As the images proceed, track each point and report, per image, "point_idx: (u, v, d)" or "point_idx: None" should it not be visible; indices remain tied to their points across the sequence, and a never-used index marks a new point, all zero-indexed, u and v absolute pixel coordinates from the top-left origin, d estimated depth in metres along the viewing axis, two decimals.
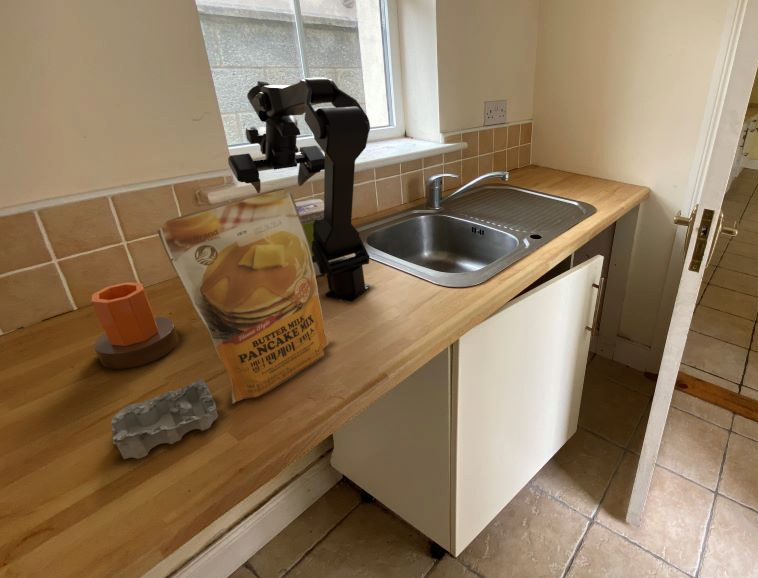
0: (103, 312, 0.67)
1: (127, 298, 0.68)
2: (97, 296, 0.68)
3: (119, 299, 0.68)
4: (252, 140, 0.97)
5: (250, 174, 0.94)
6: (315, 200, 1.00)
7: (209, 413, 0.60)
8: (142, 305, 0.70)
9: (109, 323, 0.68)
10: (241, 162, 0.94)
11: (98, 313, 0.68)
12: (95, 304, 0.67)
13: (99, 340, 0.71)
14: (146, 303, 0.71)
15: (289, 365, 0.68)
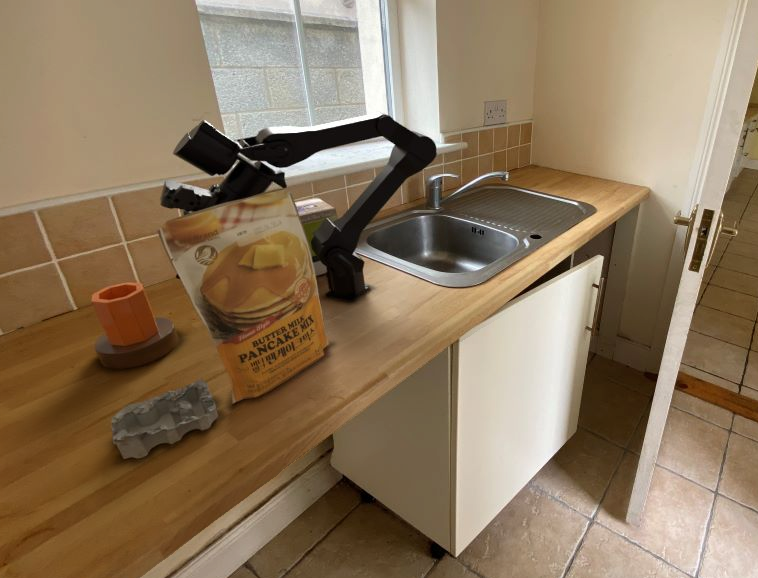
0: (103, 312, 0.67)
1: (127, 298, 0.68)
2: (97, 296, 0.68)
3: (119, 299, 0.68)
4: None
5: None
6: (315, 200, 1.00)
7: (209, 413, 0.60)
8: (142, 305, 0.70)
9: (109, 323, 0.68)
10: None
11: (98, 313, 0.68)
12: (95, 304, 0.67)
13: (99, 340, 0.71)
14: (146, 303, 0.71)
15: (289, 365, 0.68)
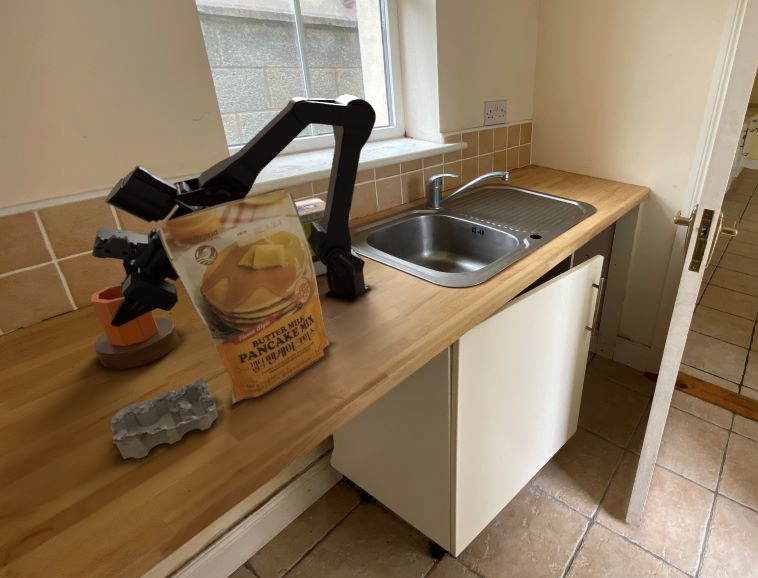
0: (103, 312, 0.67)
1: None
2: (97, 296, 0.68)
3: (119, 299, 0.68)
4: (129, 253, 0.65)
5: (176, 295, 0.68)
6: (315, 200, 1.00)
7: (209, 413, 0.60)
8: None
9: (109, 323, 0.68)
10: (160, 284, 0.66)
11: (98, 313, 0.68)
12: (95, 304, 0.67)
13: (99, 340, 0.71)
14: None
15: (289, 365, 0.68)
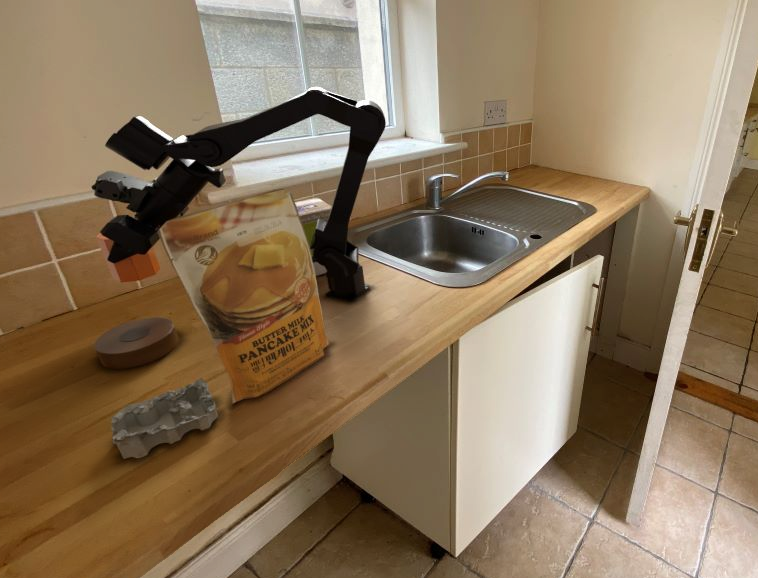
0: (103, 248, 0.74)
1: None
2: None
3: None
4: (120, 196, 0.70)
5: (155, 241, 0.71)
6: (315, 200, 1.00)
7: (209, 413, 0.60)
8: None
9: None
10: (137, 228, 0.69)
11: (101, 248, 0.74)
12: (98, 240, 0.73)
13: (99, 340, 0.71)
14: None
15: (289, 365, 0.68)
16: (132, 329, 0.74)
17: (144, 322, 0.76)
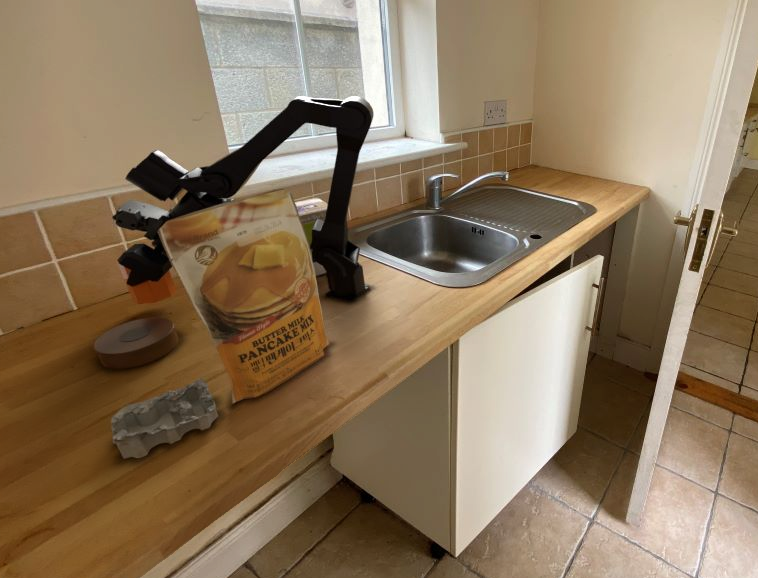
0: (123, 272, 0.78)
1: None
2: None
3: None
4: (138, 226, 0.74)
5: (168, 269, 0.75)
6: (315, 200, 1.00)
7: (209, 413, 0.60)
8: None
9: None
10: (151, 257, 0.73)
11: (121, 272, 0.79)
12: (118, 264, 0.78)
13: (99, 340, 0.71)
14: None
15: (289, 365, 0.68)
16: (132, 329, 0.74)
17: (144, 322, 0.76)
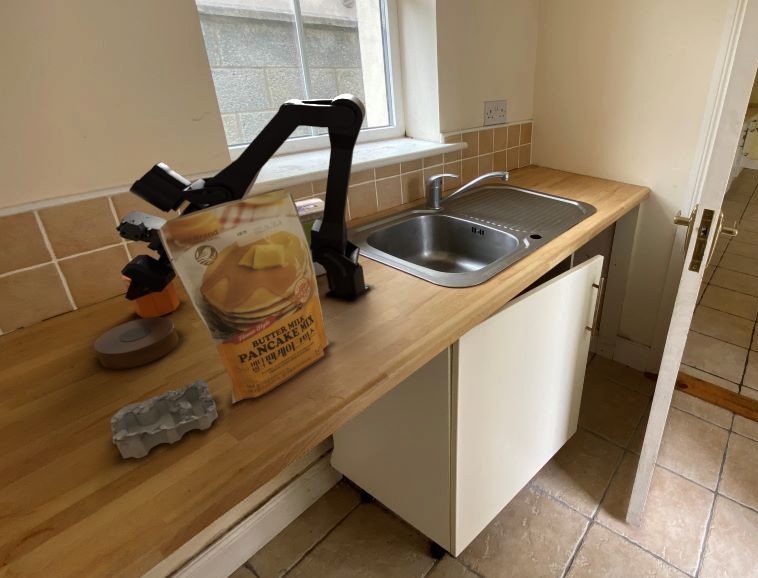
0: (128, 287, 0.80)
1: None
2: None
3: None
4: (141, 237, 0.75)
5: (171, 279, 0.76)
6: (315, 200, 1.00)
7: (209, 413, 0.60)
8: None
9: None
10: (155, 268, 0.74)
11: (126, 287, 0.80)
12: (123, 279, 0.79)
13: (99, 340, 0.71)
14: None
15: (289, 365, 0.68)
16: (132, 329, 0.74)
17: (144, 322, 0.76)
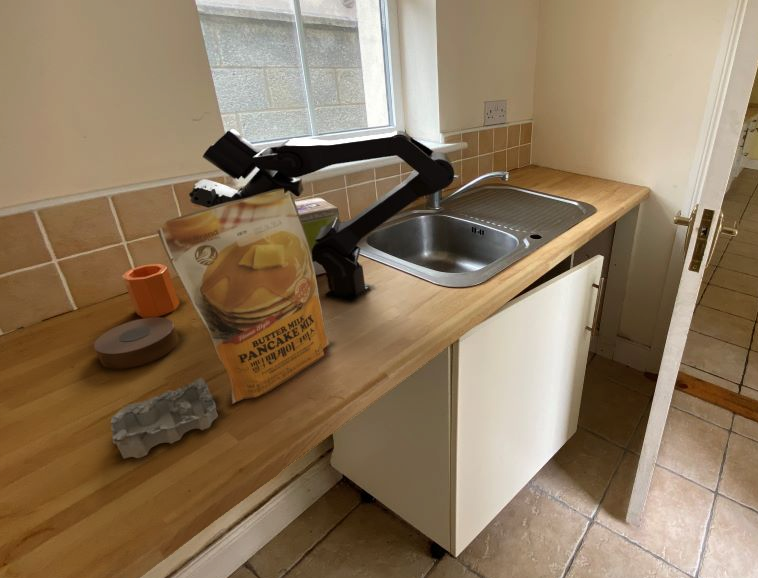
0: (128, 287, 0.80)
1: (144, 279, 0.79)
2: (129, 272, 0.81)
3: (138, 278, 0.79)
4: (213, 203, 0.76)
5: None
6: (317, 199, 1.00)
7: (209, 412, 0.60)
8: (159, 286, 0.81)
9: (132, 296, 0.81)
10: None
11: (126, 287, 0.80)
12: (123, 279, 0.79)
13: (99, 340, 0.71)
14: (163, 285, 0.82)
15: (289, 365, 0.68)
16: (132, 329, 0.74)
17: (144, 322, 0.76)
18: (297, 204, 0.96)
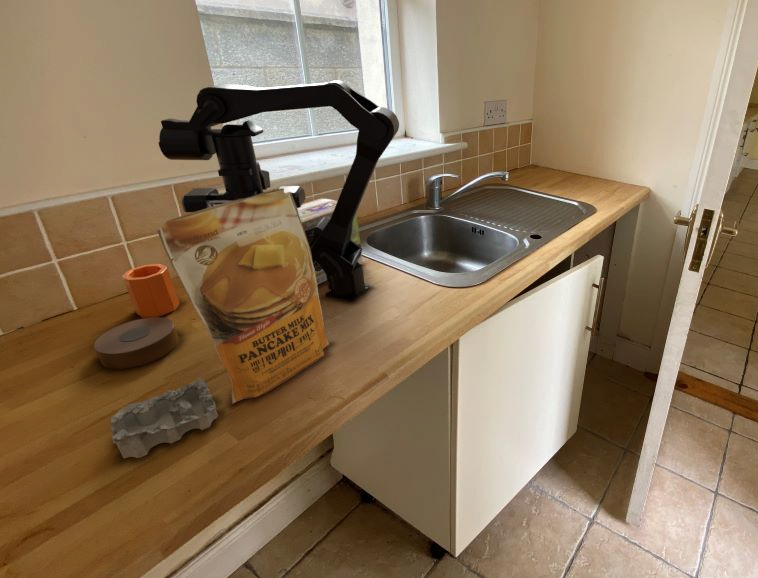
0: (128, 287, 0.80)
1: (144, 279, 0.79)
2: (129, 272, 0.81)
3: (138, 278, 0.79)
4: None
5: (195, 201, 0.78)
6: (325, 200, 1.00)
7: (209, 412, 0.60)
8: (159, 286, 0.81)
9: (132, 296, 0.81)
10: (195, 192, 0.79)
11: (126, 287, 0.80)
12: (123, 279, 0.79)
13: (99, 340, 0.71)
14: (163, 285, 0.82)
15: (289, 365, 0.68)
16: (132, 329, 0.74)
17: (144, 322, 0.76)
18: (312, 205, 0.96)
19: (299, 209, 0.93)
